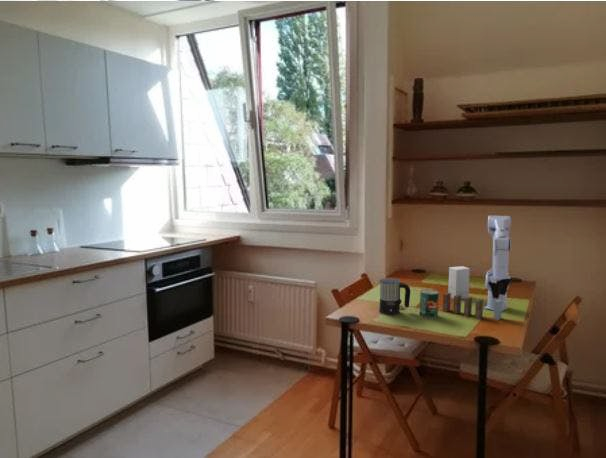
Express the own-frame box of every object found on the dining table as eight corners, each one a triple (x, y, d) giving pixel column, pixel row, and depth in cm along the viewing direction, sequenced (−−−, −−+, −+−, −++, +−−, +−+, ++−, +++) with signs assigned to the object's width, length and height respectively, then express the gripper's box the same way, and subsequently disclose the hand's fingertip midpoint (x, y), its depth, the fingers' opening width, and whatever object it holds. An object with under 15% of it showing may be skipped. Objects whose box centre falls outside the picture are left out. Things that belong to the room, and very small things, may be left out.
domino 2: (457, 311, 207) (457, 294, 206) (460, 312, 206) (461, 295, 205) (453, 313, 204) (453, 296, 203) (456, 314, 203) (457, 296, 202)
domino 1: (446, 309, 210) (447, 292, 209) (450, 309, 209) (450, 293, 208) (442, 311, 207) (443, 293, 206) (446, 311, 206) (446, 294, 205)
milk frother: (384, 316, 200) (385, 283, 198) (369, 306, 215) (369, 275, 213) (412, 313, 204) (414, 281, 202) (396, 303, 219) (397, 273, 217)
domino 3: (467, 313, 203) (468, 296, 202) (471, 314, 202) (472, 297, 201) (463, 315, 200) (464, 298, 199) (467, 316, 199) (468, 298, 198)
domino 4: (478, 316, 200) (479, 298, 199) (482, 317, 199) (483, 299, 198) (474, 318, 197) (475, 300, 196) (478, 319, 196) (479, 301, 195)
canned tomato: (423, 311, 206) (424, 288, 204) (440, 315, 201) (441, 291, 199) (416, 316, 200) (417, 291, 198) (433, 319, 195) (434, 294, 193)
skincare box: (460, 295, 235) (462, 265, 233) (469, 298, 228) (470, 268, 227) (447, 296, 232) (448, 266, 230) (455, 299, 226) (456, 269, 224)
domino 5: (497, 317, 199) (498, 299, 198) (501, 318, 198) (502, 300, 197) (494, 319, 196) (495, 301, 195) (497, 320, 195) (498, 302, 194)
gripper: (504, 269, 186) (502, 301, 187) (516, 264, 196) (514, 295, 198) (487, 266, 191) (485, 298, 192) (500, 262, 201) (498, 292, 203)
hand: (499, 296), depth 195 cm, fingers open, 7 cm apart
